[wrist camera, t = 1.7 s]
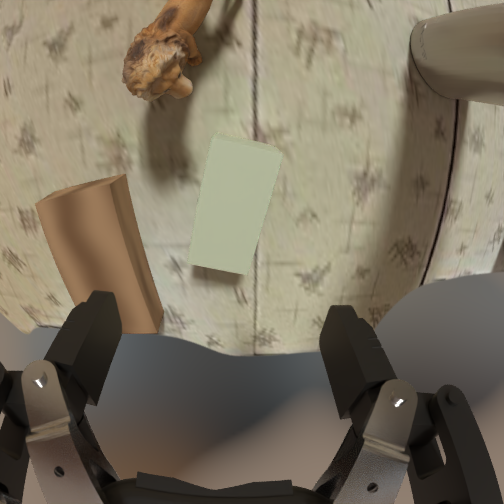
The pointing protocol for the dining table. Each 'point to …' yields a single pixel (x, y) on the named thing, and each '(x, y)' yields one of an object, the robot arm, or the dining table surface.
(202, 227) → the sage brick
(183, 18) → the lion figurine
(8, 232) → the dining table surface
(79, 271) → the walnut brick
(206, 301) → the dining table surface
